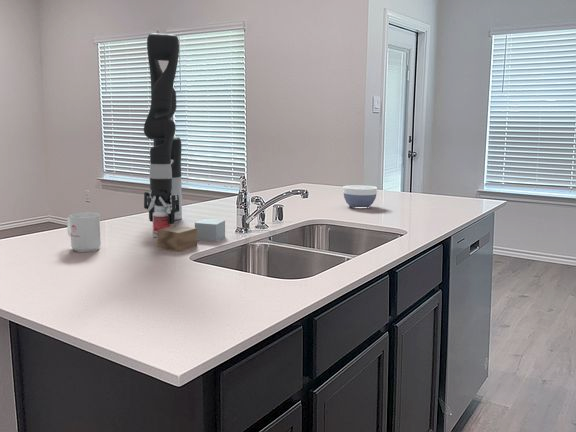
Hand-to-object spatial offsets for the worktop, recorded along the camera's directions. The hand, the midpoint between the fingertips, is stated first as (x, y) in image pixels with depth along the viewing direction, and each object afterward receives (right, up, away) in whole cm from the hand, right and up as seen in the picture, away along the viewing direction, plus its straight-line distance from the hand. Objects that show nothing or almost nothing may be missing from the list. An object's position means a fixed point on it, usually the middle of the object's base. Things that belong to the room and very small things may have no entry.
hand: (161, 222), depth 206 cm
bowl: (+78, +6, +70) cm, 105 cm away
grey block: (+17, -6, -1) cm, 18 cm away
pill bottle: (0, -5, +1) cm, 5 cm away
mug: (-21, -8, -19) cm, 29 cm away
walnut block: (+8, -8, -14) cm, 18 cm away
